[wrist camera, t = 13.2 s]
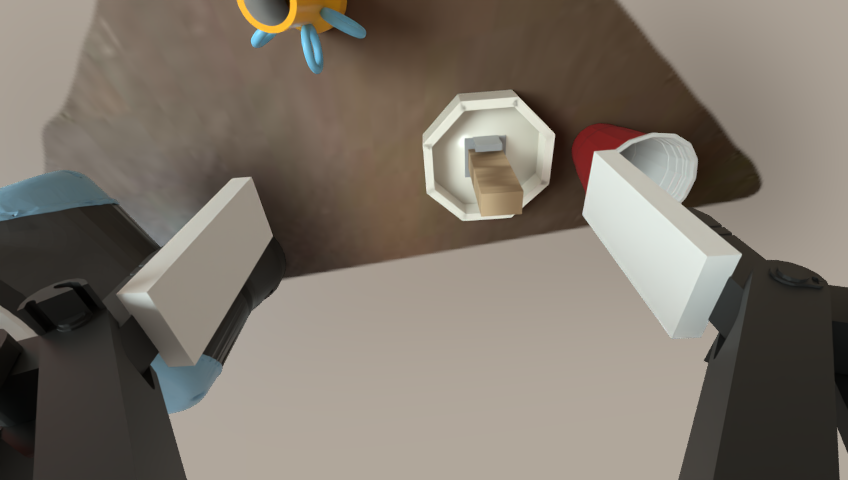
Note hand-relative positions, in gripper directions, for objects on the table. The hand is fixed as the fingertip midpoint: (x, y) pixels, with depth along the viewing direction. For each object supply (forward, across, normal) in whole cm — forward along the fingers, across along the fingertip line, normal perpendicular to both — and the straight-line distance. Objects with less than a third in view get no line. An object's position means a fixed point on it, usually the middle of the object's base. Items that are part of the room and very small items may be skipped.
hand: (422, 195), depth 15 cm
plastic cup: (+32, +21, -11) cm, 40 cm away
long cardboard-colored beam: (+31, +7, -11) cm, 33 cm away
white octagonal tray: (+32, +7, -11) cm, 34 cm away
